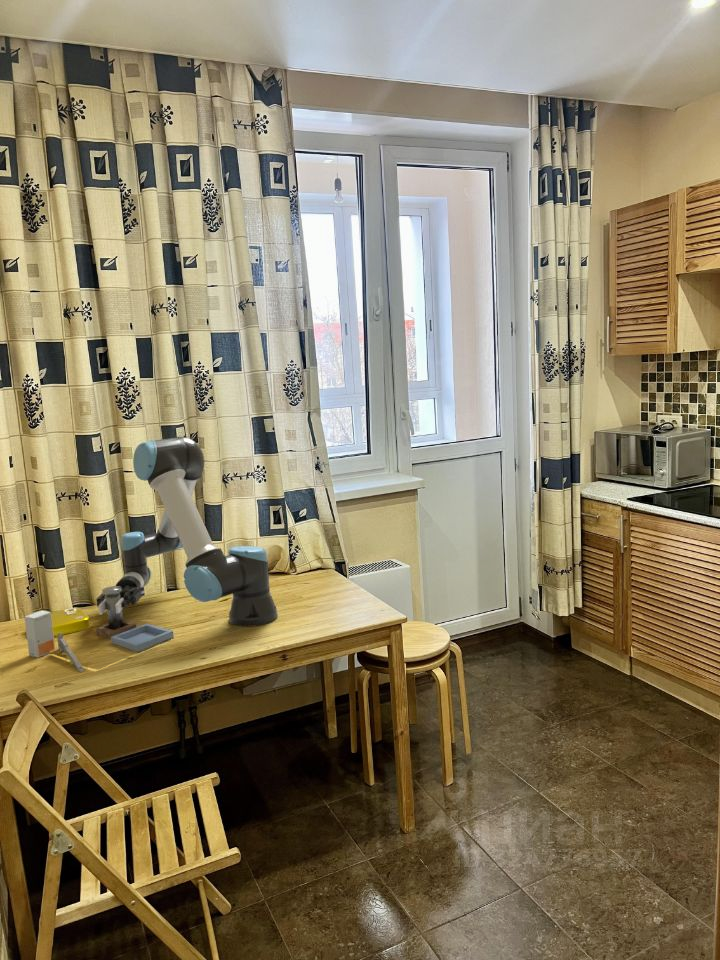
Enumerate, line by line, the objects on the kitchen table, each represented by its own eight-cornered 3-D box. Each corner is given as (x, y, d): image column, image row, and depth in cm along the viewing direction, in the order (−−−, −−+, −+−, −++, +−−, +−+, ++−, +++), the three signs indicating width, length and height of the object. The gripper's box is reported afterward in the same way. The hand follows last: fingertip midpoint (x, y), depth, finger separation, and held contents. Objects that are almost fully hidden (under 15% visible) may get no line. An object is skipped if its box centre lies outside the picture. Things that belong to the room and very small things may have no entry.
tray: (173, 638, 222) (173, 631, 221) (137, 653, 212) (136, 645, 212) (147, 630, 230) (146, 623, 229) (111, 644, 220) (110, 637, 219)
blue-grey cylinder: (129, 625, 229) (125, 587, 227) (113, 631, 224) (109, 592, 222) (118, 622, 232) (114, 585, 230) (103, 628, 228) (98, 590, 226)
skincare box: (38, 658, 213) (32, 618, 211) (28, 656, 215) (23, 616, 213) (56, 650, 218) (51, 611, 216) (47, 648, 220) (42, 609, 218)
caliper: (58, 652, 217) (56, 631, 216) (62, 651, 218) (60, 630, 217) (80, 673, 201) (77, 651, 200) (84, 672, 202) (81, 650, 201)
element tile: (31, 630, 238) (29, 615, 237) (79, 618, 246) (78, 604, 245) (41, 643, 226) (39, 628, 225) (92, 630, 234) (90, 616, 233)
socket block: (136, 631, 229) (136, 623, 229) (113, 640, 223) (112, 632, 223) (120, 626, 235) (119, 619, 234) (97, 635, 228) (96, 627, 228)
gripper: (157, 595, 246) (139, 619, 223) (104, 599, 245) (80, 623, 222) (154, 573, 245) (136, 595, 222) (101, 577, 244) (77, 599, 221)
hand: (108, 609), depth 222 cm, fingers closed on blue-grey cylinder, 4 cm apart
